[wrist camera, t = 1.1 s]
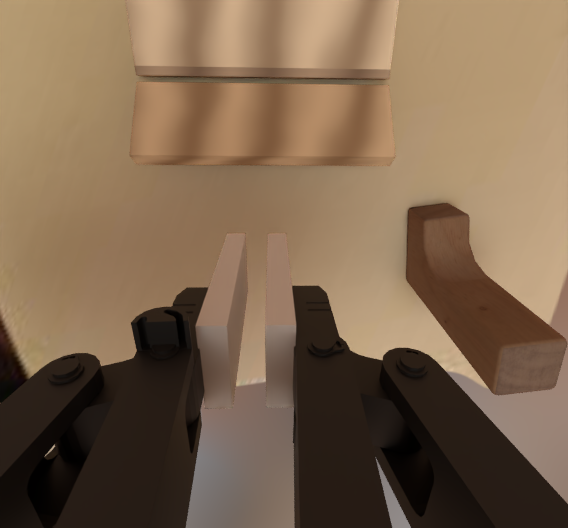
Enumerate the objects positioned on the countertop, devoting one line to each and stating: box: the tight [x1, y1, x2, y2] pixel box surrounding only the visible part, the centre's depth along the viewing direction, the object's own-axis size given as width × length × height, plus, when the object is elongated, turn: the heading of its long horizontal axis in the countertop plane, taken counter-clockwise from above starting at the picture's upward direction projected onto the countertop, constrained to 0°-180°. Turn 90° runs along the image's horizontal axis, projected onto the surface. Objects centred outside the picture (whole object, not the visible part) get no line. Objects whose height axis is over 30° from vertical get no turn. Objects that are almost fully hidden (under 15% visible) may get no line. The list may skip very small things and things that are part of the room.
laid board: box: [125, 0, 399, 80], centre depth 29 cm, size 22×6×2 cm, turn 89°
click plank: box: [130, 82, 396, 166], centre depth 30 cm, size 22×7×2 cm
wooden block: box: [407, 204, 567, 395], centre depth 31 cm, size 9×4×18 cm, turn 7°
